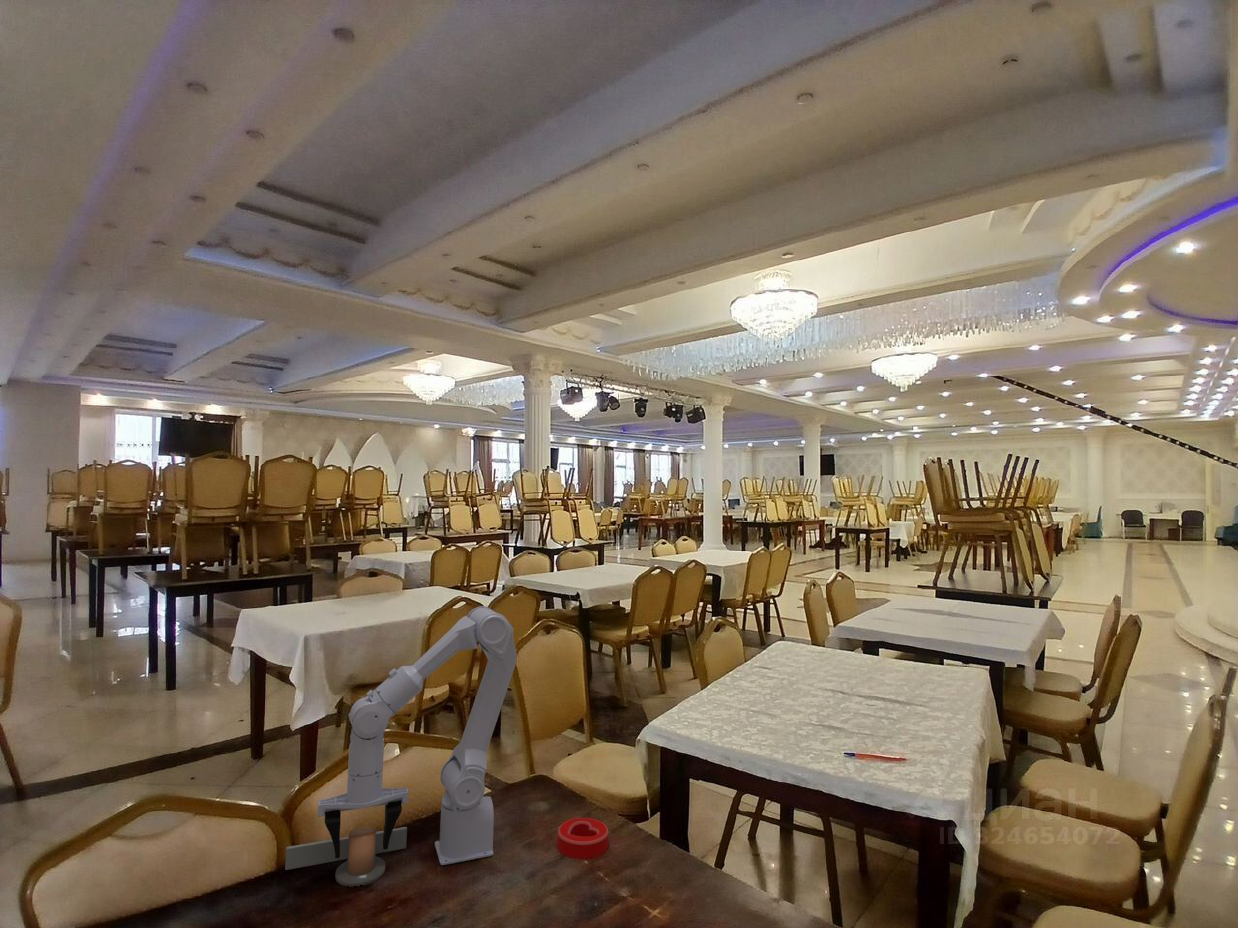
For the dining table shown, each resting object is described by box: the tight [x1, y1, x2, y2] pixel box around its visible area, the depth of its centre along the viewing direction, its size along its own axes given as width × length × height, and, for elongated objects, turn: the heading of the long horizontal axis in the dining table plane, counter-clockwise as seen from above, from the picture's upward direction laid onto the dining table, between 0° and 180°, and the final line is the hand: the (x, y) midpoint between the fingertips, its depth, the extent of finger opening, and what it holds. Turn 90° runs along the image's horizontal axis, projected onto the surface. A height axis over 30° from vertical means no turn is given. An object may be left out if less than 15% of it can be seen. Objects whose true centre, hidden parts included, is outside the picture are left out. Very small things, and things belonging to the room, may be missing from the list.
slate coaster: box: [334, 855, 386, 888], centre depth 111 cm, size 8×8×1 cm
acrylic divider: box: [284, 826, 408, 871], centre depth 115 cm, size 20×1×4 cm, turn 114°
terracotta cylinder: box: [347, 825, 377, 876], centre depth 111 cm, size 4×4×6 cm
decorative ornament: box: [556, 817, 609, 860], centre depth 122 cm, size 10×10×3 cm
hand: (361, 850), depth 111 cm, fingers open, 7 cm apart
